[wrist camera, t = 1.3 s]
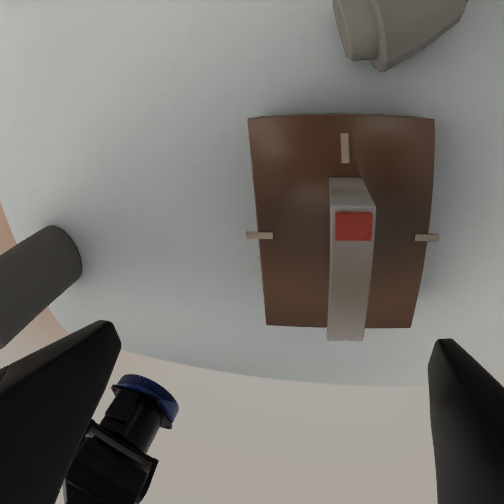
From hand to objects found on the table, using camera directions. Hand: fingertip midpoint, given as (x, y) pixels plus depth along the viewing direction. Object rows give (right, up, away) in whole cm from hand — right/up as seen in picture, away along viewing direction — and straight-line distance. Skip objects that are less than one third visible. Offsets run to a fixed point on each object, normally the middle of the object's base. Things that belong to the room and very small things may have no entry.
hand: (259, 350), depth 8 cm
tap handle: (+4, +3, +8) cm, 10 cm away
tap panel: (+5, +5, +10) cm, 12 cm away
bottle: (-18, +2, +17) cm, 25 cm away
